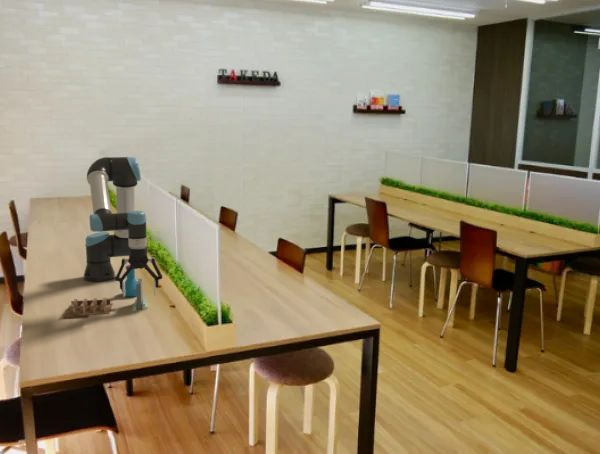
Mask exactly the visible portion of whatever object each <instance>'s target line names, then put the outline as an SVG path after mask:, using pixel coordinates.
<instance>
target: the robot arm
mask: <svg viewBox="0 0 600 454" xmlns="http://www.w3.org/2000/svg"><path fill="white" fill-rule="evenodd" d="M141 178H142V177H141V170H140V165H139V161H138V159H137V158H136V157H135V156H131V157H130V156H120V157H119V156H116V157H115V156H114V157H113V156H112V157H110V156H109V157H108V156H103V157H101V158H98V159H96V160H95V161H94V162H93V163H92V164H90V166H89V167H88V169H87V172H86V181H87V183H88V185H90V186H89V187H90V194H91V195H90V197H91V203H92V204H91V205H92V213H93V214H90V215H89V229H90V231H91V232H94V233H91V234H89V235H87V236H86V238H85V245H84V246H85V252H86V253H85V256H86V265H85V269H84V273H83V280H85V281H87V280H88V281H87V282H104V281H109V280H112V278H113V279H114V280H115V282H119V289H120V290H121V289H123V293H122V297H123V298H125V297H126V296H125V281H126V280H125V279H126V278H127V275H128V273H129V272H130V271H131V270H132V269H133V268H135V270H138V269H145V271H146V272H147V273H148V274H149V275H150V276H151V277H152V278H153V296H156V295H157V288H159V281H160V280H162V279H163V274H162V272H161V271H160V268H159V266H158V265H157V263H156V258H155V256H153V257H149V258H148V247H147V246H148V241H147V240H148V238H147V217H146V212H145V211H143V210H135V187H137V186H138V182H140V181H141V180H142V179H141ZM109 182H112V185H113V186H114V187H115V189H116V190H115V191H116V192H115V193H116V197H115V198H116V201H115V202H116V213H112V206H111V199H110V193H109V187H108V183H109ZM112 231H113V234H110V232H112ZM119 257H122V259H121V265H120V267H119V269H118V271H117V274H116V273H115V270H114V268H113V266H112V265H113V264H112V263H111V258H119ZM123 257H128V258H123ZM127 263H129V264H128V265H130V267H129V268H128V269H127V270H126V271H124V273H123V274H122V272H123V269H124V267H125V265H126V264H127ZM148 263H150V264H152V266H153V269H154V270H155V272H154V271H153V269H151V267H150V266H149V265H148ZM115 275H116V276H115ZM121 275H122V276H121ZM114 276H115V277H114ZM120 276H121V277H120Z"/></svg>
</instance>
